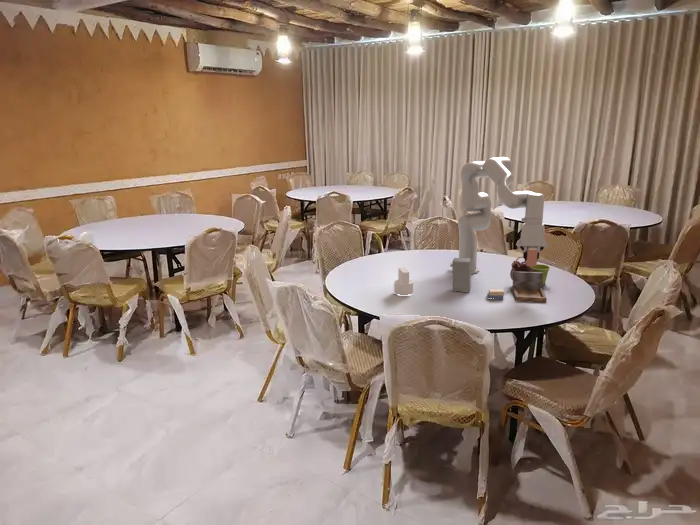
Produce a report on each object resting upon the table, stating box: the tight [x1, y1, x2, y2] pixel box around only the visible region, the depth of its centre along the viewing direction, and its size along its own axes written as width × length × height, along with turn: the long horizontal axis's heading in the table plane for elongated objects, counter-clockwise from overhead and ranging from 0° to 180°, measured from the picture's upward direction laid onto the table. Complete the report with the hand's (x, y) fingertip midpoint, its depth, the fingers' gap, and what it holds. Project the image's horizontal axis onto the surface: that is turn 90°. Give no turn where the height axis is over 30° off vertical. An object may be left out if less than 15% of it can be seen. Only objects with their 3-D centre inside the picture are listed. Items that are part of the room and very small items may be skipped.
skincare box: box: [451, 257, 472, 293], centre depth 244 cm, size 8×7×16 cm
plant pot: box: [530, 263, 551, 285], centre depth 253 cm, size 9×9×9 cm
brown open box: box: [511, 271, 548, 303], centre depth 235 cm, size 13×17×9 cm
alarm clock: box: [509, 256, 534, 281], centre depth 249 cm, size 11×5×15 cm, turn 100°
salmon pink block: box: [524, 246, 538, 266], centre depth 232 cm, size 4×9×8 cm, turn 167°
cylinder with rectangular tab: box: [393, 267, 414, 295], centre depth 242 cm, size 9×9×12 cm
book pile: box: [486, 288, 505, 300], centre depth 234 cm, size 7×4×4 cm, turn 78°
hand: (530, 259), depth 232 cm, fingers closed on salmon pink block, 4 cm apart
